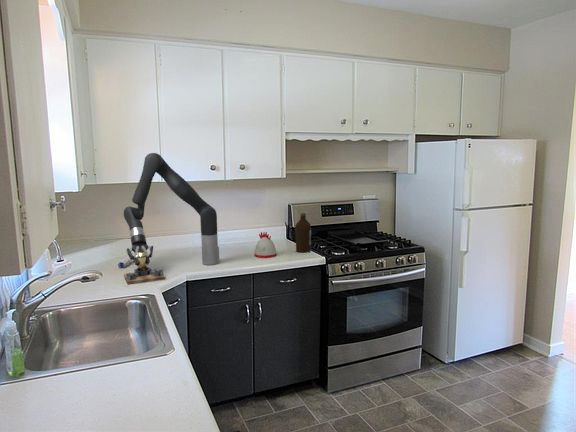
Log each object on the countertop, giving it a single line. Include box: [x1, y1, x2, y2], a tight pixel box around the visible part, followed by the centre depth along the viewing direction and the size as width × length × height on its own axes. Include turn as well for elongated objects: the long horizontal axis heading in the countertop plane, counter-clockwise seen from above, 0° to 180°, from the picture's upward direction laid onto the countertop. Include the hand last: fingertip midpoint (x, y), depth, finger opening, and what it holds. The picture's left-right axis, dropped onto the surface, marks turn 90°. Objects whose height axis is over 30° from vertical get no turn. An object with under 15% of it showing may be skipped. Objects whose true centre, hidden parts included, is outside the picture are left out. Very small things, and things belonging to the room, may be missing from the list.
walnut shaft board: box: [123, 269, 166, 286], centre depth 213 cm, size 18×16×2 cm
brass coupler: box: [137, 252, 148, 271], centre depth 215 cm, size 5×5×10 cm
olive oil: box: [294, 212, 312, 254], centre depth 268 cm, size 11×11×25 cm
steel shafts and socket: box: [126, 266, 164, 280], centre depth 213 cm, size 18×13×3 cm
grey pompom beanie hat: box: [253, 231, 277, 259], centre depth 259 cm, size 14×14×15 cm
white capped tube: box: [117, 251, 135, 269], centre depth 245 cm, size 5×7×25 cm
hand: (142, 264), depth 213 cm, fingers closed on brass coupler, 4 cm apart
